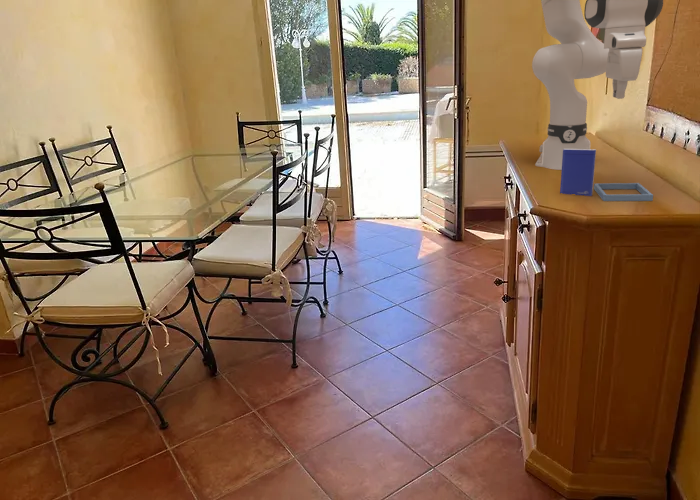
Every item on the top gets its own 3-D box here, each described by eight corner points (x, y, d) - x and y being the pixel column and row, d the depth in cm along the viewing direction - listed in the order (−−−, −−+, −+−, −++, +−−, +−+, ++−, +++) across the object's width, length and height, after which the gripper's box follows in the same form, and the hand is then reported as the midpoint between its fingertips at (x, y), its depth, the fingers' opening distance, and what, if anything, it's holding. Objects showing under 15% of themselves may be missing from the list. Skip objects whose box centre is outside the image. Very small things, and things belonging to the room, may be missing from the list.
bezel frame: (593, 188, 154) (594, 183, 154) (638, 188, 151) (639, 182, 151) (603, 200, 142) (604, 195, 141) (652, 200, 139) (653, 195, 138)
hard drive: (591, 196, 147) (595, 150, 143) (559, 194, 151) (562, 149, 147) (592, 194, 148) (596, 149, 144) (560, 193, 152) (563, 148, 148)
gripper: (602, 41, 144) (597, 95, 149) (618, 40, 126) (612, 101, 130) (628, 40, 143) (622, 94, 147) (648, 38, 124) (641, 100, 129)
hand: (618, 98), depth 139 cm, fingers closed
